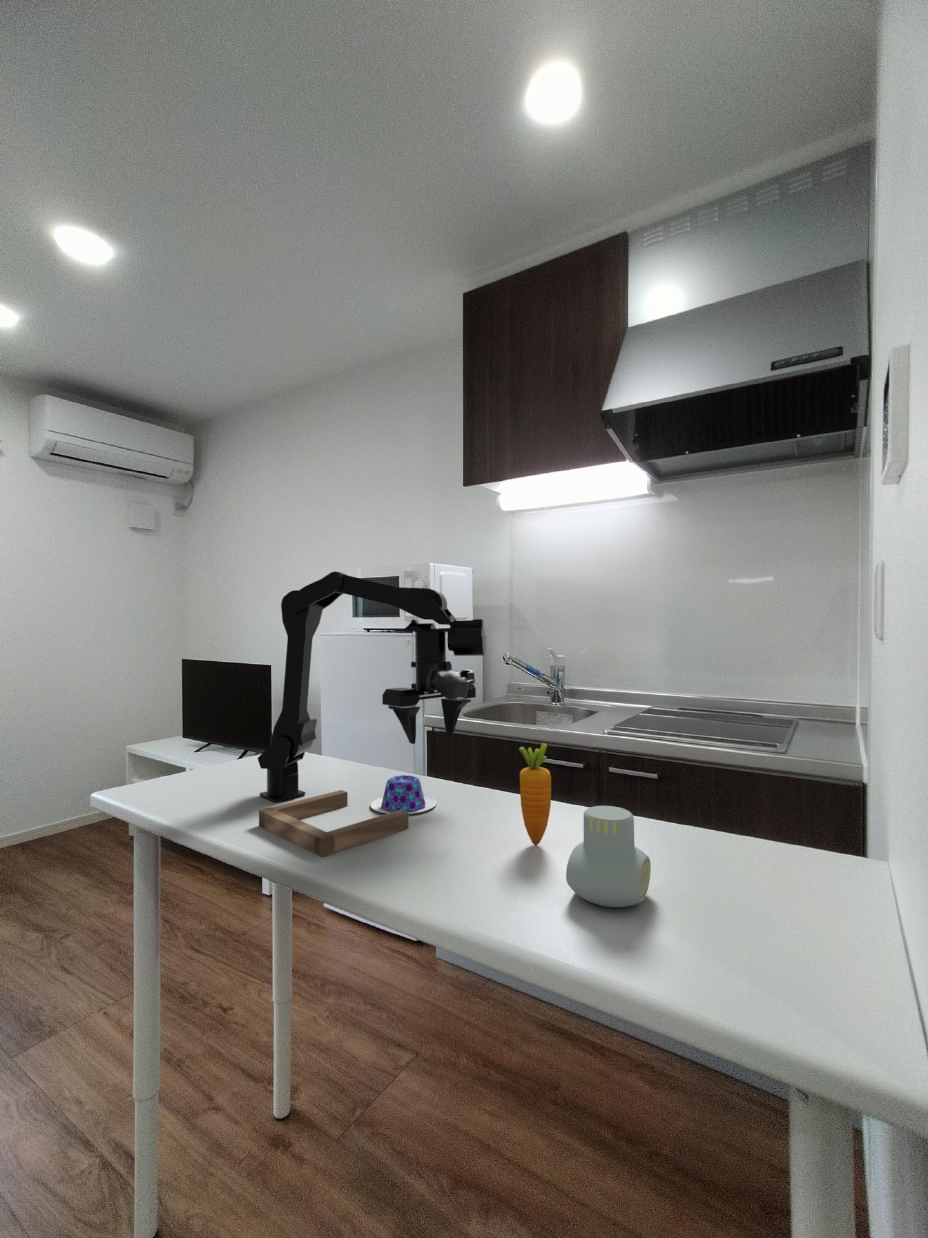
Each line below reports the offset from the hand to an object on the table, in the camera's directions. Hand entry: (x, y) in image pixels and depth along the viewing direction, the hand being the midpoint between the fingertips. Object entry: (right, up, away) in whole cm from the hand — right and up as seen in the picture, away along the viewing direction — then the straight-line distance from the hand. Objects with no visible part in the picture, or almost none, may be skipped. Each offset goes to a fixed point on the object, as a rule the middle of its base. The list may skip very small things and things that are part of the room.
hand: (431, 740), depth 105 cm
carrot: (+17, -11, -22) cm, 30 cm away
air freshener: (+23, -11, -38) cm, 46 cm away
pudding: (-5, -12, -2) cm, 13 cm away
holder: (-15, -11, -12) cm, 22 cm away
